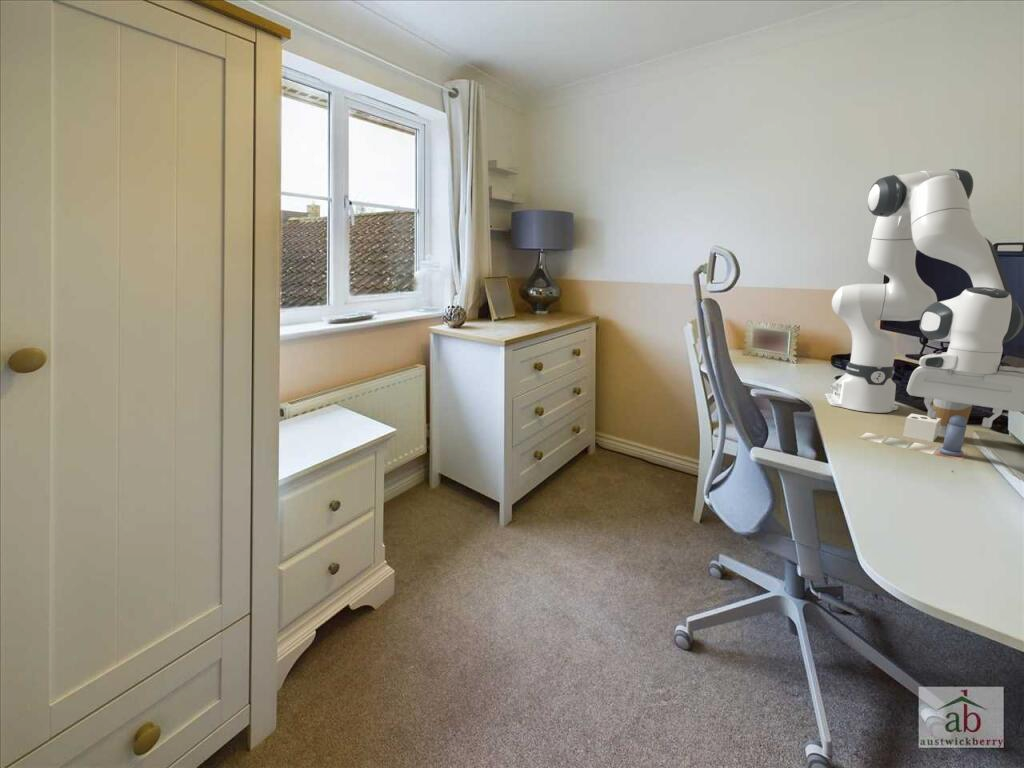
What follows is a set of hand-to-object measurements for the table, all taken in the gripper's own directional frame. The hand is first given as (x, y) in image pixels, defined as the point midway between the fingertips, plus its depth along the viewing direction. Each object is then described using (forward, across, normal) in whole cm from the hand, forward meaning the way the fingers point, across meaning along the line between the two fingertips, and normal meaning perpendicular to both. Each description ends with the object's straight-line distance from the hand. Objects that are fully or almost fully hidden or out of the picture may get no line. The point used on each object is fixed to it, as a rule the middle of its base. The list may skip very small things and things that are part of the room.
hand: (958, 421), depth 111 cm
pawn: (+8, 0, +1) cm, 8 cm away
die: (+9, +7, -10) cm, 16 cm away
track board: (+9, +7, +1) cm, 12 cm away
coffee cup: (+10, +3, -19) cm, 22 cm away
